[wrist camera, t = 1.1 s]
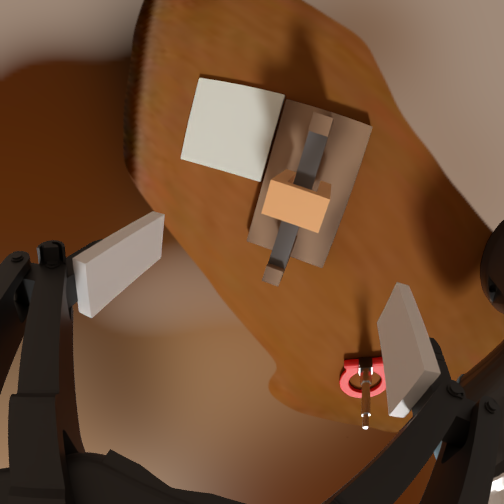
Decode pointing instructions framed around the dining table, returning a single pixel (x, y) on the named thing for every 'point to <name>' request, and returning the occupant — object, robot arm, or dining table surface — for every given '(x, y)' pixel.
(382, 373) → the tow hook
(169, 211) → the dining table surface
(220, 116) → the rubber mat
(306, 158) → the stand
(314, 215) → the c-link
